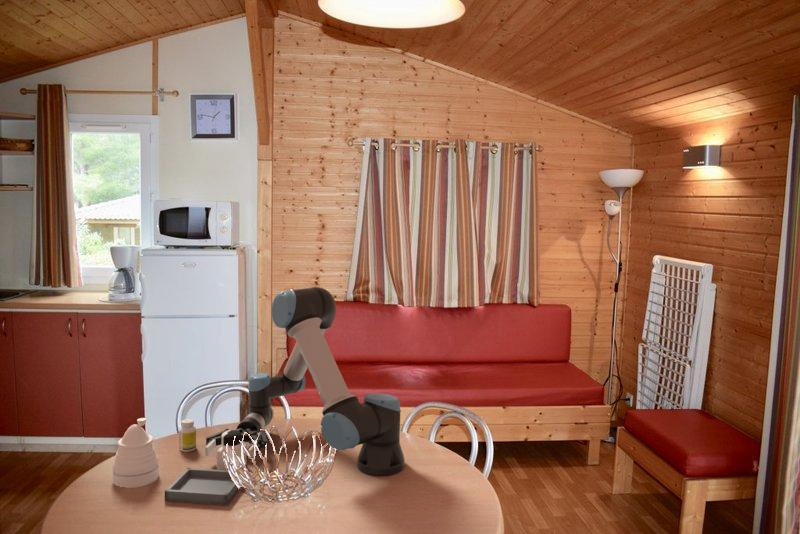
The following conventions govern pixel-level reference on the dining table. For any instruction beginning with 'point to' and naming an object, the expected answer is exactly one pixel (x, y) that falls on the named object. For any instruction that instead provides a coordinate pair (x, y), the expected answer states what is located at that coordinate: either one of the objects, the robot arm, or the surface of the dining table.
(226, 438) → the medicine bottle
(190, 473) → the tray
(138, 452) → the honey pot
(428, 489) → the dining table surface
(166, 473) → the dining table surface
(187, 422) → the supplement bottle
